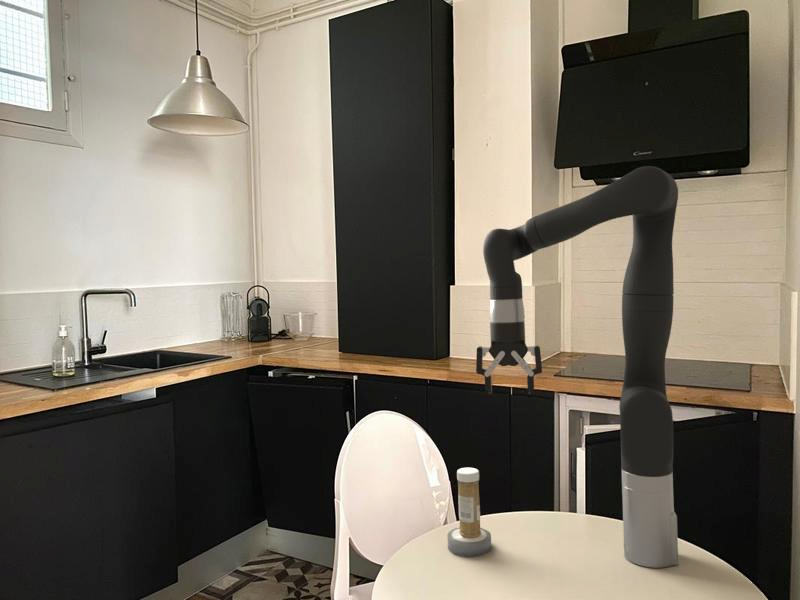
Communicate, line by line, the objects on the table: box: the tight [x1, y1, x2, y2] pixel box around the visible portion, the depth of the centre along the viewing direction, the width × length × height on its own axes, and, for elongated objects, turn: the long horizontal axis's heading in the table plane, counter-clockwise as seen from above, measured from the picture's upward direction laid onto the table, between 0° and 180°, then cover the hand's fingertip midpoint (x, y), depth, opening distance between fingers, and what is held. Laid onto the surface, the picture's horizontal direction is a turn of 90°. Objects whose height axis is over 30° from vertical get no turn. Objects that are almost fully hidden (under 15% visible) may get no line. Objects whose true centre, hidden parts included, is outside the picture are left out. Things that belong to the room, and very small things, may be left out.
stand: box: [446, 526, 492, 558], centre depth 127 cm, size 9×9×3 cm
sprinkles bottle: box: [456, 467, 481, 538], centre depth 127 cm, size 5×5×14 cm
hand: (509, 393), depth 135 cm, fingers open, 8 cm apart
